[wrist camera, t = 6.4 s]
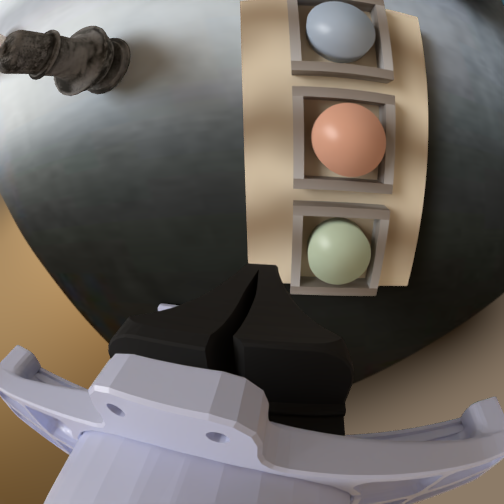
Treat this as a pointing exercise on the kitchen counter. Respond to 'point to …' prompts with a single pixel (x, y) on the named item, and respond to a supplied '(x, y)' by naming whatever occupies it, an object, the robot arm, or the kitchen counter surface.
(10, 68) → the grey chess piece
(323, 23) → the blue button
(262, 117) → the button panel
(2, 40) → the elephant figurine
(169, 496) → the robot arm
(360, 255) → the green button
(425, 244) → the kitchen counter surface
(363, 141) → the terracotta button
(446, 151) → the kitchen counter surface
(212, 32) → the kitchen counter surface
